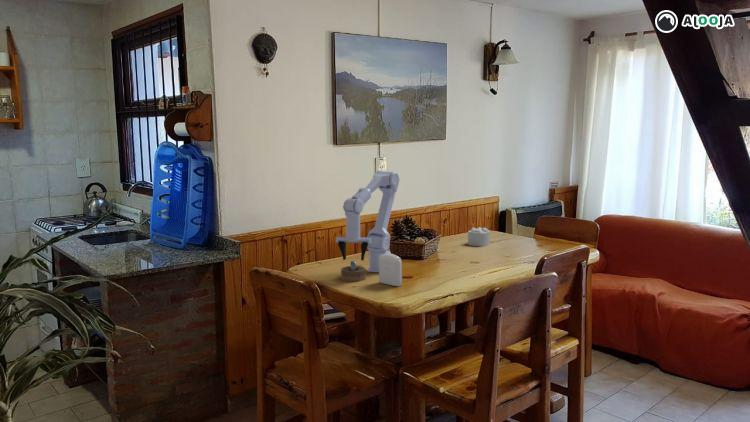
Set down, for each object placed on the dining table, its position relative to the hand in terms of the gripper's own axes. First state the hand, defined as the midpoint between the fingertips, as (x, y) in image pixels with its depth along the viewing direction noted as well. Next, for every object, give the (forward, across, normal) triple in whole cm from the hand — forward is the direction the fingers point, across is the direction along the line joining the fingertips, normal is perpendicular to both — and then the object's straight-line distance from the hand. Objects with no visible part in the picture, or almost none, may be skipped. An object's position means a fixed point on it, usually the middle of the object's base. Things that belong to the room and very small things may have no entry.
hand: (353, 259), depth 243 cm
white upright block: (+8, +16, -6) cm, 19 cm away
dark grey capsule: (+8, 0, 0) cm, 8 cm away
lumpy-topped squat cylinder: (+9, +51, +83) cm, 98 cm away
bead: (+8, 0, 0) cm, 8 cm away
